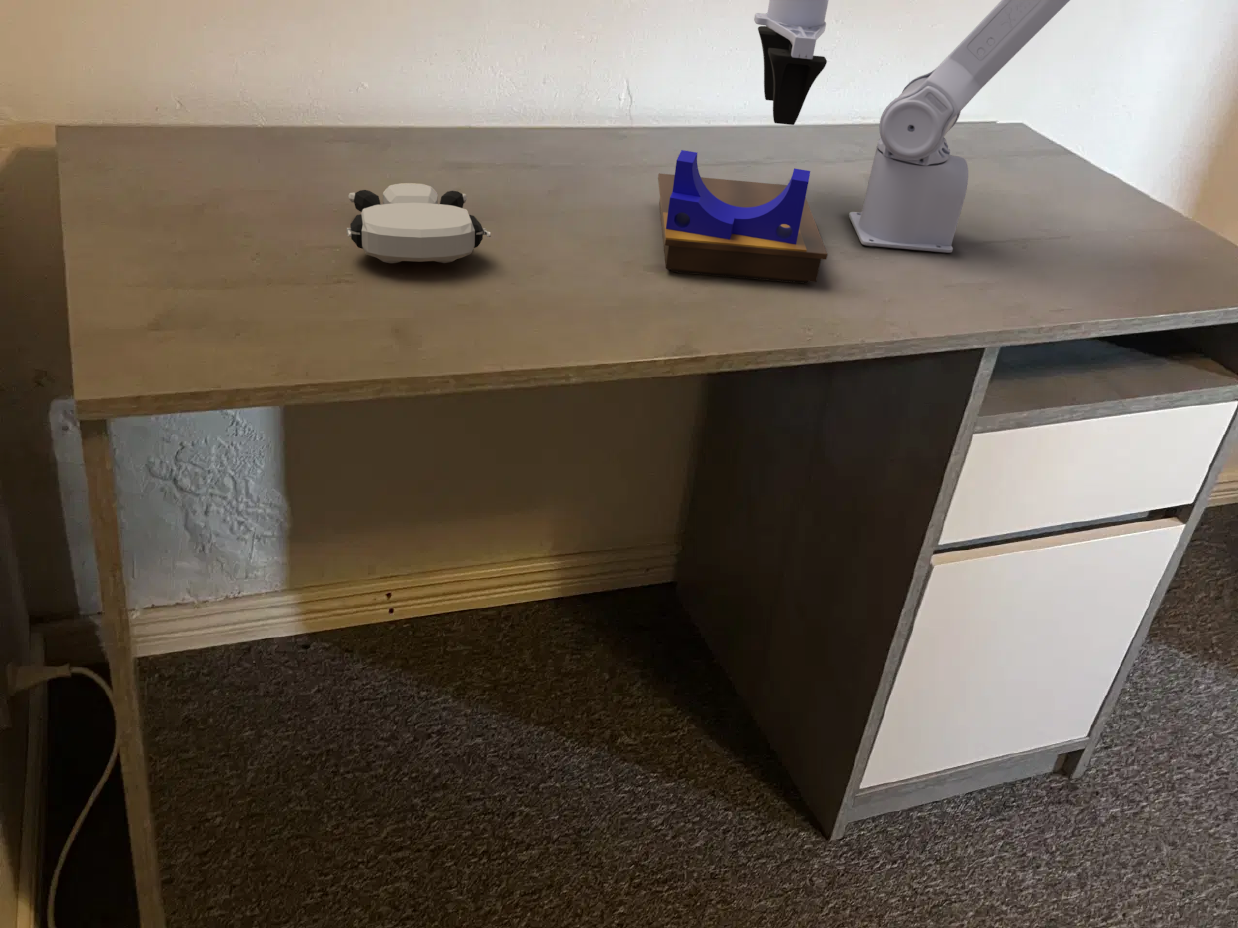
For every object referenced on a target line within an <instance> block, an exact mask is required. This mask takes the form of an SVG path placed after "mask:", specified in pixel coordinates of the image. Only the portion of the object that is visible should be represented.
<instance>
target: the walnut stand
mask: <svg viewBox="0 0 1238 928" xmlns="http://www.w3.org/2000/svg"><path fill="white" fill-rule="evenodd" d="M674 176H675V174H670V173H669V174H668V173H658V175H657V181H658V191H659V201H658V206H659V217H660V224H661V225H660V226H661V234H662V245H663V246H662V247H663V254H664V255H663V256H664V261H665V262H664V264H665V269H666V270H670V272H671V273H679V274H680V273H681V274H692V275H704V276H714V277H715V276H716V277H725V278H726V277H727V278H738V279H750V280H759V281H760V280H761V281H772V282H785V283H798V284H807V285H808V284H809V283H811V282H812V283H817V281H818V276H819V271H820V266H821V263H822V262H821V261H822V260H827V259H828V255H829V254H828V252H827V248H826V246H825V244H824V241H823V239H822V236H821V233H820V230H819V229H818V225H817V223H816V220H815V218H814V215H813V212H812V210H811V208H810V205H809V203H808V200H807V197H805V202H804V207H803V212H802V217H801V222H800V227H799V232H798V237H797V242H796V244H790V243H784V242H779V241H773V240H767V239H761V238H755V237H749V236H743V235H737V234H732V235H731V238H730V240H729V239H724V238H718V237H712V236H706V235H700V234H694V233H688V232H683V231H677V230H671V229H666V224H667V216H668V208H669V201H670V196H671V194H672V192H673V184H674ZM700 177H701V179H702V181H703V183H704V185H705V186H706V188H707V189H708V190H709V191H710V192H711V193H712V194H713V195H714V196H715V197H716V198H718V199H719V200H721V201H723V202H725V203H727V204H729V205H732V206H736V207H745V208H746V207H756V206H760V205H763V204H766V203H768V202H770V201H771V200H773V199H775V198H776V197H777V196H778V195H780V194H781V193H782V192H783V190H784V189H785V188H786V186H787V185H788V184H780V183H779V184H778V183H768V182H767V183H766V182H765V183H764V182H756V181H747V180H734V179H724V178H712V177H703V176H700ZM781 226H782V227H784V228H789V227H790V226H789V225H786V224H782V225H781Z"/></svg>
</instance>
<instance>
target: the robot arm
mask: <svg viewBox="0 0 1238 928" xmlns="http://www.w3.org/2000/svg"><path fill="white" fill-rule="evenodd" d="M1070 1H1071V0H1000V1H999V2H998V3H997V5H995V6H994V8H993V9H992V10H991V11H990V12H989V13H988V14H987V15H986V16H985V17H984V18H983V19H982V20H981V21H980V22H979V23H978V24H977V26H975V27H974V28H973V30H972V31H971V32H969V33H968V35H967V36H966V37H965V38H964V39H962V41H960V43H959V44H958V45H957V46H956V47H955V48H954V49H953V50H952V51H951V52H950V54H948V56H946V57H945V58H944V59H943V60H942V62H940V64H939V65H938V66H937V67H935V69H933V70H931V71H929V72H927V73H925V74H923V75H920V76H917V77H915V78H914V79H911V81H909V82H908V83H907V85H906V86H905V87H904V88H903V89H902V91H901V93H900V94H899V95H898V96H897V97H895V98H894V99H893V100H892V101H890V102H889V104H888V105H887V106H886V107H885V108H884V110H883V111H882V113H881V116H880V119H879V126H878V127H879V128H878V131H879V136H880V137H879V138H878V139H877V142H876V147H875V151H874V156H873V161H872V165H871V170H870V174H869V178H868V182H867V186H866V191H865V195H864V199H863V204H862V208H861V212H858V211H851V212H849V214H848V217H849V219H850V222H851V223H852V224H851V225H852V226H853V228H854V231H855V233H856V235H857V237H858V239H859V241H860V243H861V244H862V245H863V246H869V247H878V248H890V249H902V250H913V251H923V252H924V251H925V252H935V253H947V254H951V253H952V252H953V250H954V248H953V246H952V245H953V240H954V237H955V233H956V230H957V228H958V223H959V220H960V216H961V214H962V213H961V212H962V209H963V206H964V202H965V198H966V194H967V190H968V185H969V184H968V183H969V167H968V162H967V160H966V158H965V157H964V156H961V155H953V154H951V150H950V149H949V145H948V142H947V139H946V137H945V136H946V135H947V134H948V133H949V132H950V130H951V129H952V128H953V127H955V125H956V124H957V122H958V120H959V118H960V116H961V112H962V110H963V109H964V108H965V107H966V106H967V104H969V103H970V102H971V100H972V99H974V97H975V96H976V95H977V94H978V93H979V92H980V91H981V90H982V88H984V87H985V86H986V84H988V82H990V81H991V80H992V79H993V77H995V76H996V75H997V74H998V73H999V72H1000V71H1001V69H1003V68H1004V67H1005V66H1006V65H1007V64H1008V63H1009V62H1010V61H1011V60H1012V59H1013V58H1014V57H1015V56H1016V54H1018V53H1019V52H1020V51H1021V50H1022V49H1023V48H1024V47H1025V46H1026V45H1027V44H1028V43H1029V42H1030V41H1031V40H1032V39H1033V38H1034V37H1035V36H1036V35H1037V34H1038V33H1039V32H1040V31H1041V30H1042V29H1043V28H1044V27H1045V26H1046V25H1047V24H1048V23H1049V22H1051V20H1052V19H1053V18H1054V17H1055V16H1056V15H1058V14H1059V12H1060V11H1061V10H1062V9H1063V8H1064V7H1065V6H1066V5H1067V4H1068V3H1069V2H1070ZM828 5H829V0H769V1H768V7H767V12H766V13H763V12H755V14H754V17H753V21H754V23H755V25H759V26H758V27H757V31H758V34H759V39H760V42H761V49H762V56H763V57H762V58H763V90H764V91H763V93H764V99H765V101H769V102H770V101H772V118H773V123H774V124H778V125H789V126H794V125H795V124H796V122H797V120H798V119H799V116H800V114H801V111H802V108H803V106H804V103H805V101H806V98H807V96H808V94H809V91H810V90H811V88H812V86H813V84H814V82H815V81H816V79H817V78H818V77H819V75H820V74H821V73H822V72H823V70H825V68H826V66H827V63H828V60H827V58H826V57H825V56H823V55H814V53H815V49H816V44H817V40H818V39H819V38H820V37H821V36H822V35H823V34H824V33H825V31H826V26H827V23H826V15H827V10H828ZM1057 13H1058V14H1057Z"/></svg>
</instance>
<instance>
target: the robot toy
mask: <svg viewBox="0 0 1238 928" xmlns="http://www.w3.org/2000/svg"><path fill="white" fill-rule="evenodd" d="M438 195H439V194H438V192H437V191H436V190H435V189H434V188H433V186H431V185H429V184H424V183H414V182H413V183H412V182H405V183H404V182H403V183H401V182H399V183H395V184H391V185H388V186H387V187H386V189H384V191H383V192H382V203H381V200H380V196H379V195H378V194H376V193H375V192H372V191H371V190H367V189H359V190H358V191H356V192H349V193H348V196H347V197H348V199H349V201H350V202H351V203H353V204H354V207H355V210H356V211H358V212H360V214H356V216H354V218H353V220H352V221H351V222H350V227H346V235H347V237H348V238H350V240H351V241H352V242H353V243H354V244H355V245H356V247H357V248H358V249H363V252H364V253H365V255H366V256H367V255H368V256H370V257H373V258H376V259H378V260H380V261H381V262H383V263H388V264H397V263H401V262H417V263H418V262H419V263H420V262H421V263H422V262H423V263H424V262H437V263H442V264H447V263H452V262H454V261H455V260H457V259H462V258H464V257H467V256H469V255H472V253H473V250H474V249H476V248H479V246H480V245H481V242H482V241H483V239H484V237H483V236H486V237H487V238H491V237H492V235H491V234H492V232H491V231H487V228H486V227H483V226H482V224H481V223H480V221H479V220H478V219H477V218H476V216H475V215H473V214H469V211H468V209H466V208H463V207H464V205H465V204H466V202H467V200H468V196H467V194H466V193H463V192H459V191H458V190H449V191H446V192H445V193H444V194H443V195H441V197H440V201H439V203H438V197H439V196H438Z"/></svg>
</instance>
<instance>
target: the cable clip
mask: <svg viewBox="0 0 1238 928" xmlns="http://www.w3.org/2000/svg"><path fill="white" fill-rule="evenodd" d="M674 175H675V176H674V184H673V192H672V194H671V196H670V201H669V208H668V216H667V224H666V229H671V230H677V231H683V232H688V233H694V234H700V235H706V236H712V237H718V238H724V239H729V240H730V238H731V235H732V234H737V235H743V236H749V237H755V238H761V239H767V240H773V241H779V242H784V243H790V244H796V242H797V237H798V232H799V227H800V222H801V217H802V212H803V207H804V202H805V197H806V196H807V192H808V187H809V181H810V177H811V176H810V175H811V170H807V169H800V168H793V172H792V174H791V177H790V180H789V181H788V183H787V184H786V185H787V186H786V188H785V189H784V190H783V192H782V193H781V194H780V195H778V196H777V197H776V198H775V199H773V200H771V201H770V202H768V203H766V204H763V205H760V206H756V207H746V208H745V207H736V206H732V205H729V204H727V203H725V202H723V201H721V200H719V199H718V198H716V197H715V196H714V195H713V194H712V193H711V192H710V191H709V190H708V189H707V188H706V186H705V185H704V183H703V181H702V179H701V177H702V176H701V174H700V171H699V166H698V152H696V151H692V150H691V151H690V150H684V149H681V150H680V152H679V154H678V157H677V159H676V162H675V169H674ZM806 198H807V197H806ZM782 224H786V225H789V226H790V227H789V228H784V227H782V226H781V225H782Z"/></svg>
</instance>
